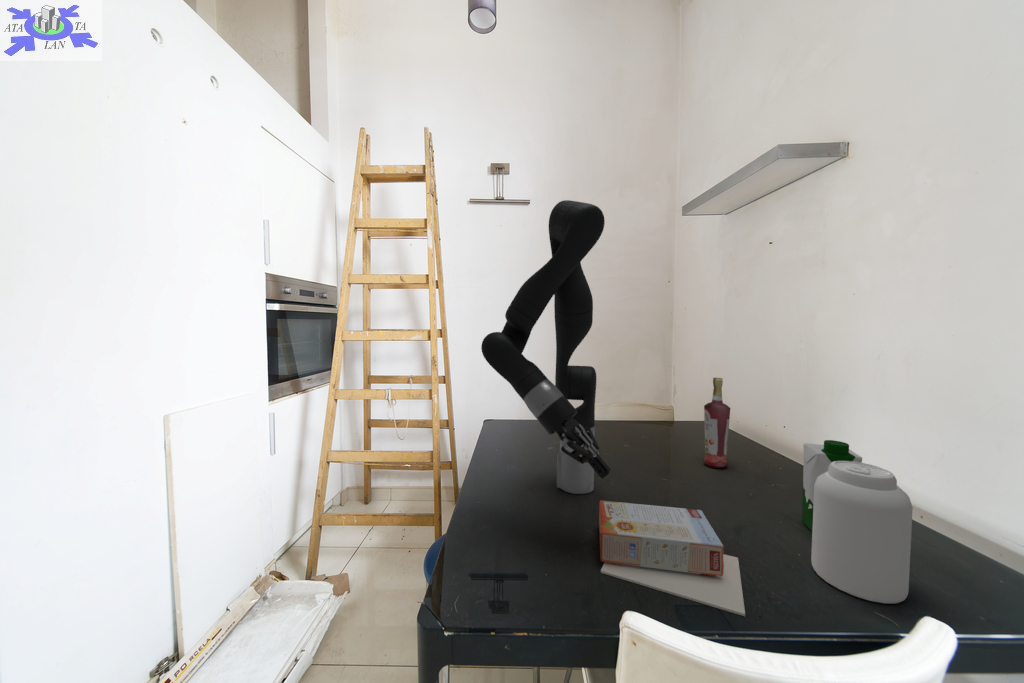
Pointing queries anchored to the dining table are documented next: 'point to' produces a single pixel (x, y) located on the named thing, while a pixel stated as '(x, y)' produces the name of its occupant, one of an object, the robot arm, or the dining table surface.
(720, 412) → the liquor
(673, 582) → the mat
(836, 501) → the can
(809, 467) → the milk carton
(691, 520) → the cracker box
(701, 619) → the dining table surface
